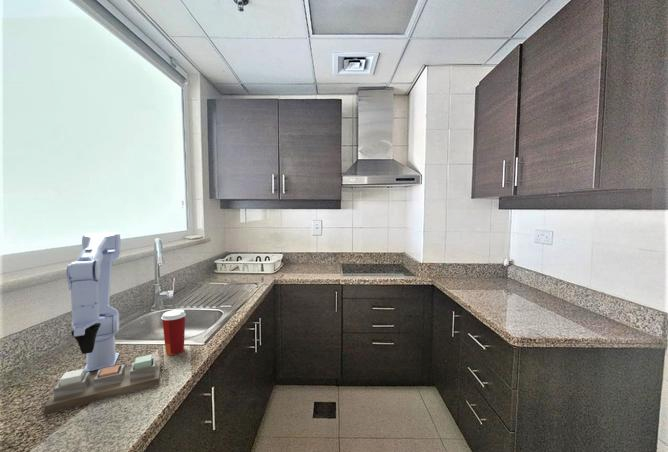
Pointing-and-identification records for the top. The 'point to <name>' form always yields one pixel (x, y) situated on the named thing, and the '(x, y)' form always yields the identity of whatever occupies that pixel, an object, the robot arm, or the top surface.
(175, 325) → the paper cup
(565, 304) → the top surface
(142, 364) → the sage button
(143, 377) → the button board
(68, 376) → the cream button
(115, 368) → the terracotta button
